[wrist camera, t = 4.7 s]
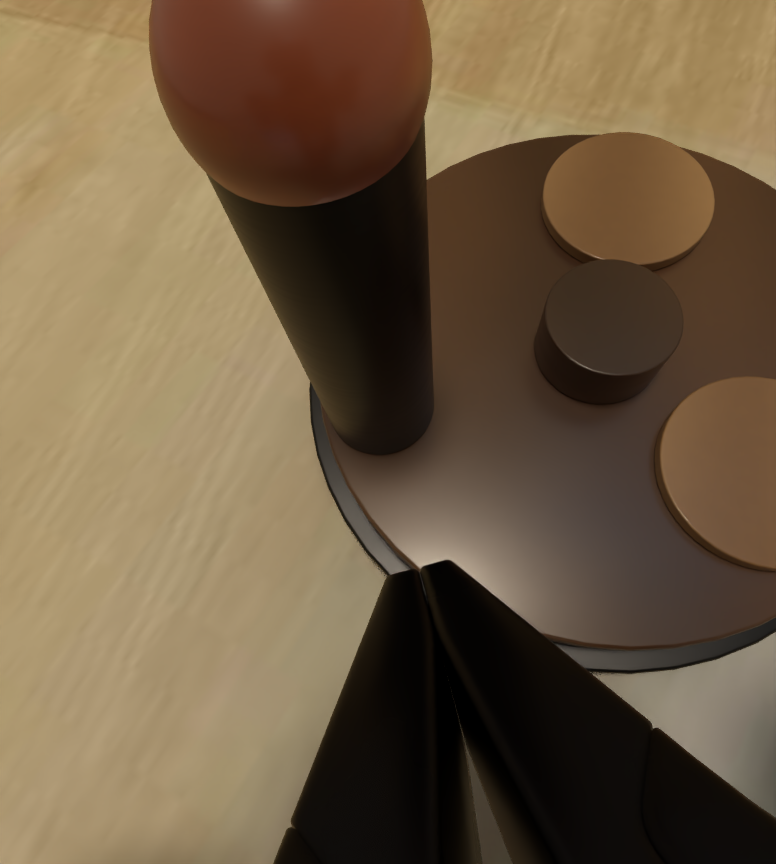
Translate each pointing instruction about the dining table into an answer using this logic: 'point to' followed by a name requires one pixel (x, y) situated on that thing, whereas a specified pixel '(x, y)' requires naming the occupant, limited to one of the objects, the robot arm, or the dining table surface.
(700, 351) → the turntable with crank handle
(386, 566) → the base
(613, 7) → the dining table surface
